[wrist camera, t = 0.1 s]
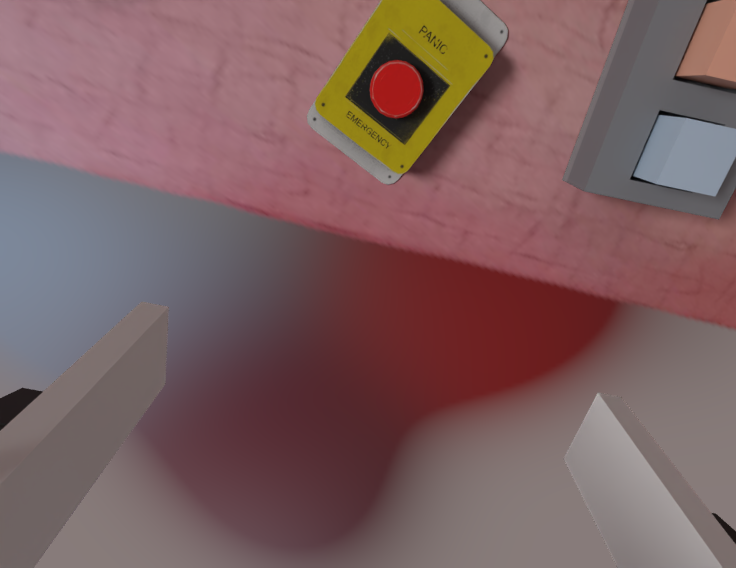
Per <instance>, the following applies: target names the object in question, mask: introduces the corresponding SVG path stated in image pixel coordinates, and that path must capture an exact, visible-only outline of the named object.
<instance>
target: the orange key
mask: <svg viewBox="0 0 736 568" xmlns="http://www.w3.org/2000/svg"><path fill="white" fill-rule="evenodd" d="M675 77H679V78H683V79H688V80H692V81H697V82H701V83H705V84H710V85H714V86H719V87H723V88H727V89H736V0H720V1H716V2H712V3H708V4H705V6H704V8H703V11H702V13H701V15H700V18H699V20H698V22H697V25H696V27H695V29H694V32H693V34H692V36H691V38H690V41H689V43H688V45H687V48H686V50H685V52H684V55H683V57H682V59H681V62H680V64H679V66H678V69H677V71H676V73H675Z"/></svg>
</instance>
